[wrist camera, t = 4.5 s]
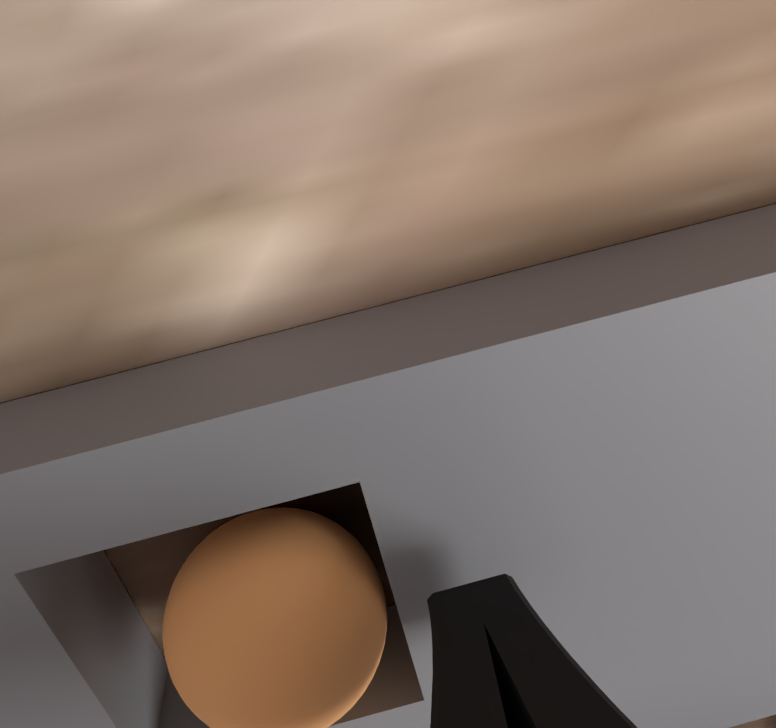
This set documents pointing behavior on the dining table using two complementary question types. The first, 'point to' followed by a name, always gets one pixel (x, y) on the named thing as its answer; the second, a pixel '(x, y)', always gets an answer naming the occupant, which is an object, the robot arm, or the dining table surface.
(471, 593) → the robot arm
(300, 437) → the board
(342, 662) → the ball
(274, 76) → the dining table surface
